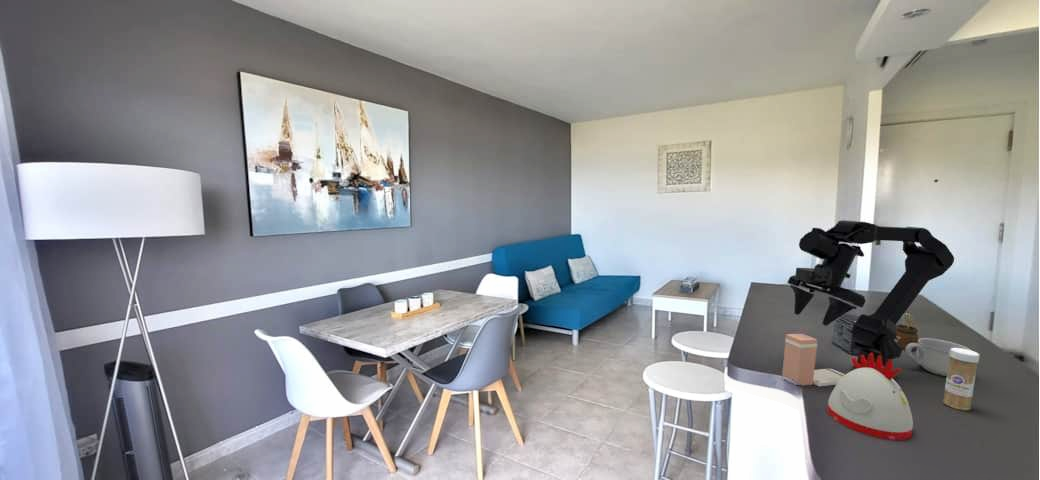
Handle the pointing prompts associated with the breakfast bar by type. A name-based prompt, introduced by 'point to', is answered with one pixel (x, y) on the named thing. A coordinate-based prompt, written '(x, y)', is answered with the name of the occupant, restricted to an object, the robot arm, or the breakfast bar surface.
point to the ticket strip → (826, 377)
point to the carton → (799, 358)
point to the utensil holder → (906, 334)
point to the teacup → (933, 354)
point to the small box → (845, 334)
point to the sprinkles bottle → (960, 378)
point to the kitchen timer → (872, 401)
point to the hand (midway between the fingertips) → (809, 319)
